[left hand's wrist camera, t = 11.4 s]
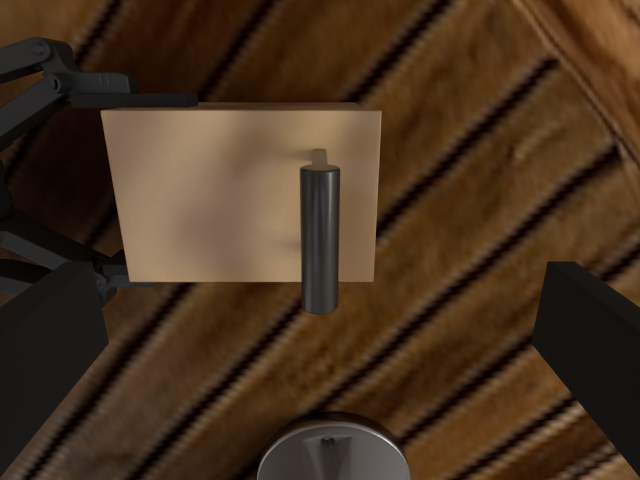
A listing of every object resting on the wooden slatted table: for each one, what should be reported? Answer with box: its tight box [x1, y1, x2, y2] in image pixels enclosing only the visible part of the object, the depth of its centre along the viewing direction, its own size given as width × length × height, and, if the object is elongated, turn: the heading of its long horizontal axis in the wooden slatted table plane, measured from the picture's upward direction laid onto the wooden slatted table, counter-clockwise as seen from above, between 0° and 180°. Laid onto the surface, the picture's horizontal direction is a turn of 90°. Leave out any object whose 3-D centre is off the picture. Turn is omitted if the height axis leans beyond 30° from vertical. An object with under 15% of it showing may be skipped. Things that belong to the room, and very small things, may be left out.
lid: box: [101, 109, 382, 314], centre depth 21 cm, size 14×10×8 cm
